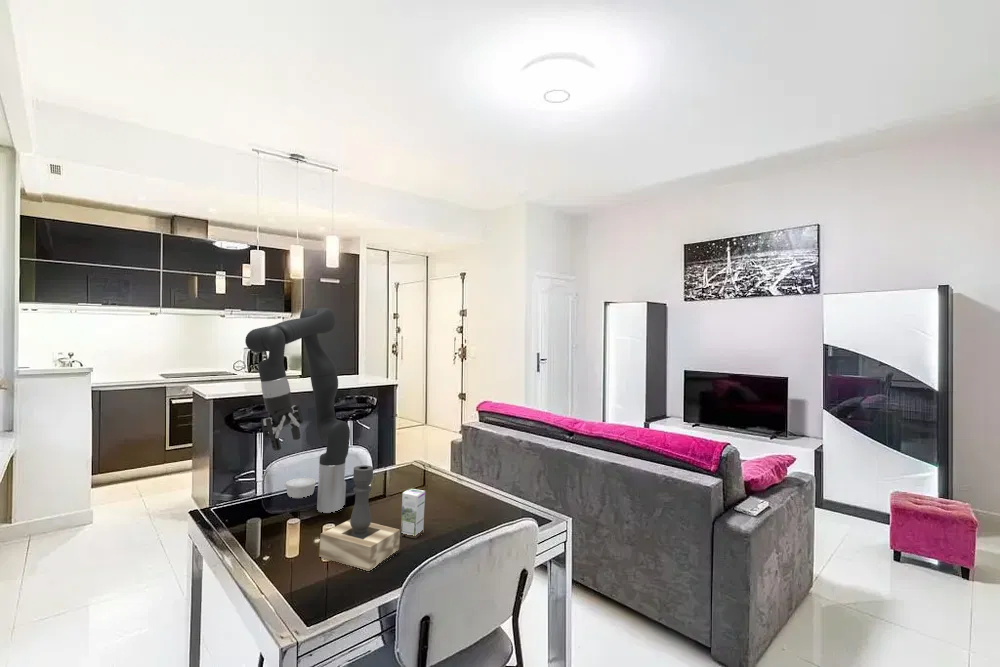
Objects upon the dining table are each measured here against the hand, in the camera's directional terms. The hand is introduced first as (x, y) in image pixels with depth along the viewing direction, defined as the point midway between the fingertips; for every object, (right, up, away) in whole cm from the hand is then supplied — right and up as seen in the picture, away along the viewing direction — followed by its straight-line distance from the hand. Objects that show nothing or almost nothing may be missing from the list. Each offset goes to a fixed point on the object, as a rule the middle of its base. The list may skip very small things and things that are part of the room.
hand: (287, 444), depth 145 cm
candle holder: (+23, -31, -3) cm, 39 cm away
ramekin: (-16, -31, +46) cm, 58 cm away
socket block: (+23, -32, -3) cm, 40 cm away
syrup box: (+36, -33, +13) cm, 50 cm away
